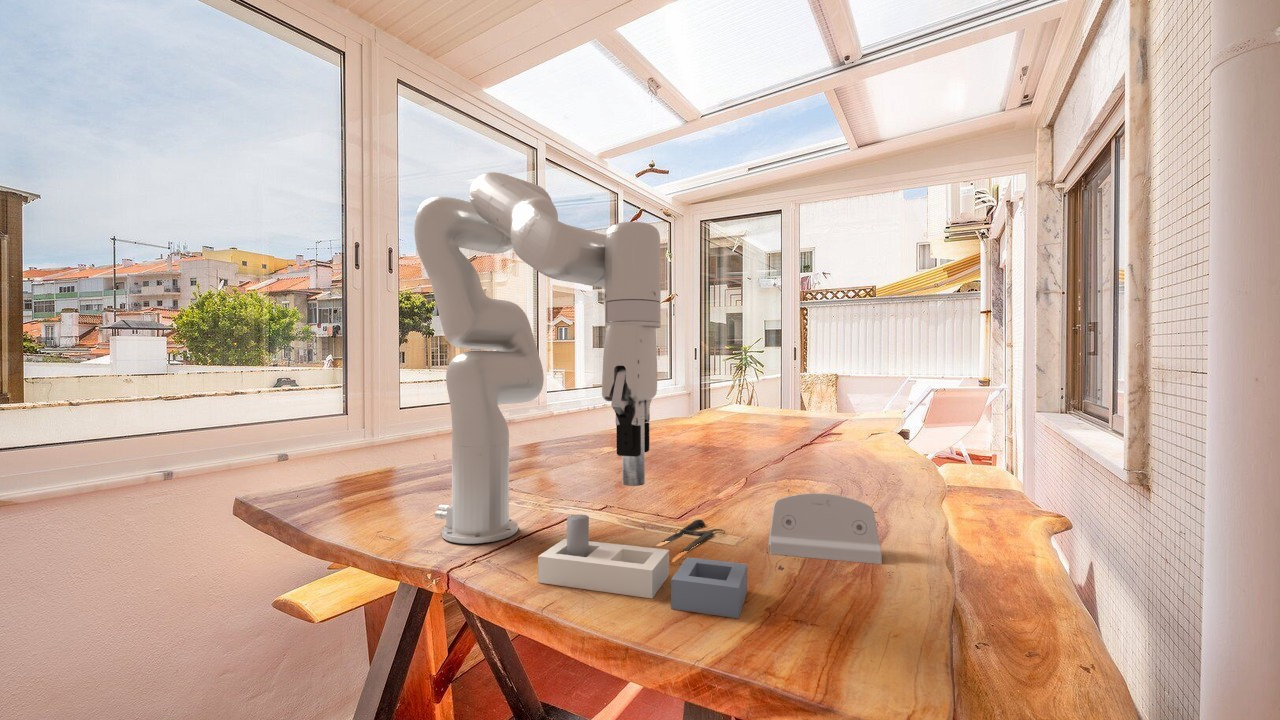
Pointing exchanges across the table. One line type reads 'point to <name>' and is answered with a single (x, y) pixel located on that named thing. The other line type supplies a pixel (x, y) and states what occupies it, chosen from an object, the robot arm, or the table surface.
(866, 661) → the table surface
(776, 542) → the grey wall bracket
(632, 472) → the grey peg
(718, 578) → the socket block
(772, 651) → the table surface
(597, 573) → the rack
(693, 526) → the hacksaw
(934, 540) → the table surface
